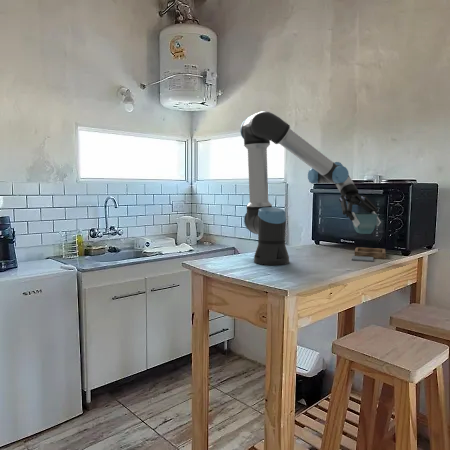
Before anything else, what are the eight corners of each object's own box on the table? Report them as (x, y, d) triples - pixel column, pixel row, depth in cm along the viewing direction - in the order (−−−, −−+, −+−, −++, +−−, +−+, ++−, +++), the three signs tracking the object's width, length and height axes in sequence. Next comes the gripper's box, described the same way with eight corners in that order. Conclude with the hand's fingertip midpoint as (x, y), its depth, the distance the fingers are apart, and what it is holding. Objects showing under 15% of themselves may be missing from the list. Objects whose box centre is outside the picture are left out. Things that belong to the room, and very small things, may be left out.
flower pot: (377, 234, 177) (378, 214, 176) (357, 234, 177) (357, 214, 177) (370, 232, 186) (371, 212, 185) (351, 232, 186) (351, 212, 185)
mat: (351, 260, 180) (351, 259, 180) (352, 256, 189) (352, 255, 189) (373, 261, 177) (373, 260, 177) (373, 258, 186) (373, 256, 186)
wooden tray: (354, 256, 189) (354, 251, 188) (355, 252, 201) (355, 247, 201) (385, 258, 184) (385, 253, 184) (384, 253, 197) (385, 248, 196)
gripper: (363, 193, 198) (385, 229, 185) (323, 194, 191) (342, 231, 178) (371, 183, 193) (394, 218, 180) (329, 183, 185) (350, 220, 172)
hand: (368, 224), depth 179 cm, fingers closed on flower pot, 11 cm apart
